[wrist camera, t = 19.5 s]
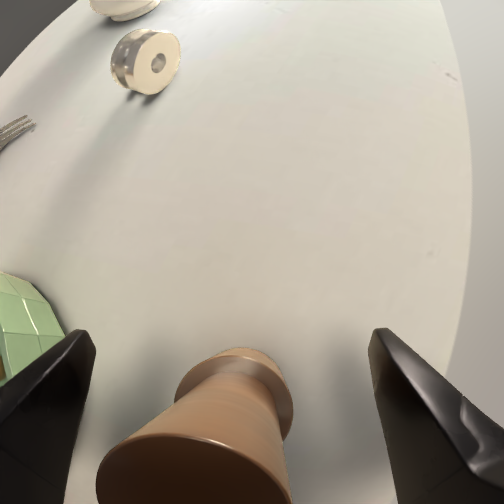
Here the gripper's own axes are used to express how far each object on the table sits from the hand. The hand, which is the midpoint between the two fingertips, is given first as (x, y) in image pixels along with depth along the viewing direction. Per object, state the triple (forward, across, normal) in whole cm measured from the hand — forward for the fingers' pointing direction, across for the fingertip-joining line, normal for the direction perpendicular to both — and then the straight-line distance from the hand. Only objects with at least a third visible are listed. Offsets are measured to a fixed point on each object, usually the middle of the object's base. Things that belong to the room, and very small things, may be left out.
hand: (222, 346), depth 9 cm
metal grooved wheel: (+18, +7, -8) cm, 21 cm away
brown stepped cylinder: (+3, 0, +7) cm, 8 cm away
